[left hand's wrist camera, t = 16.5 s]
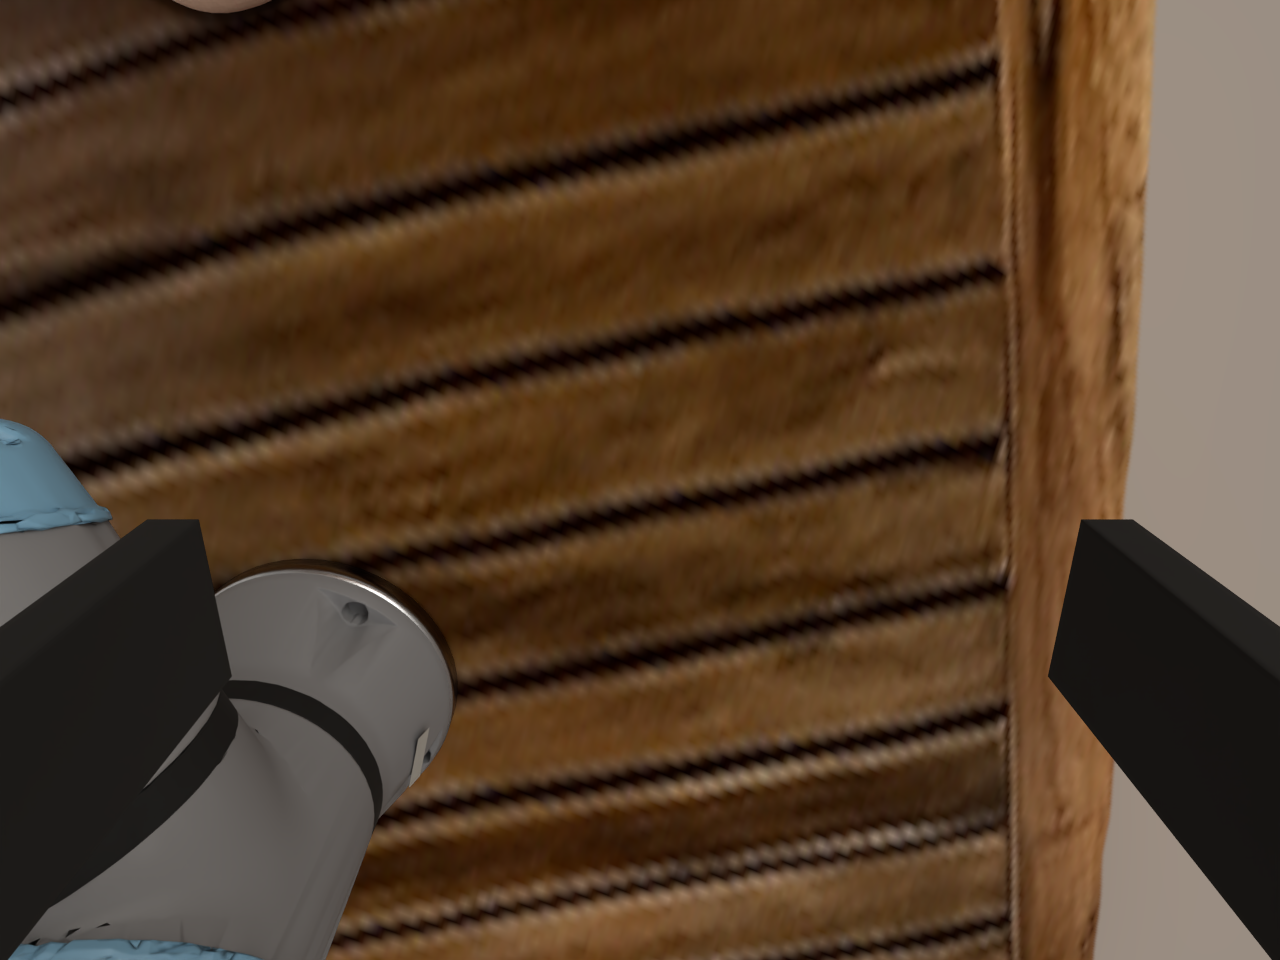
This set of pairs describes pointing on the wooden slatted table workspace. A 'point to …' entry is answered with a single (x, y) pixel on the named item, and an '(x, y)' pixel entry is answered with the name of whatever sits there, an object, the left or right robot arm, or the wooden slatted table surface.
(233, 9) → the anatomical model
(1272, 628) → the left robot arm
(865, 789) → the wooden slatted table surface
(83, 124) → the wooden slatted table surface
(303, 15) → the wooden slatted table surface
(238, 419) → the wooden slatted table surface
